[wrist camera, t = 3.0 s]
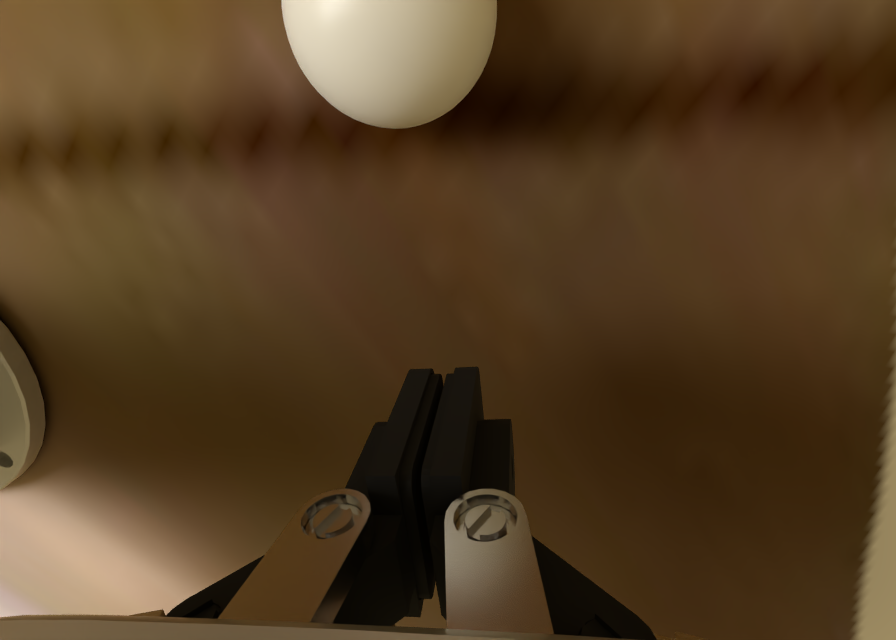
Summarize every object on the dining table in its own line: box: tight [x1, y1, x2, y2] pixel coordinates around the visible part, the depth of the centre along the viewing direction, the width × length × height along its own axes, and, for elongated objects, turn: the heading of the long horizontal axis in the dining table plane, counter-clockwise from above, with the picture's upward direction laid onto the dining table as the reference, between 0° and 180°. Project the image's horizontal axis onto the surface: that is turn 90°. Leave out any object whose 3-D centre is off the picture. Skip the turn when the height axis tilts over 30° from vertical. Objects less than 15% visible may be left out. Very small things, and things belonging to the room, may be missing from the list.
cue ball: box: [282, 0, 497, 129], centre depth 13 cm, size 6×6×6 cm
